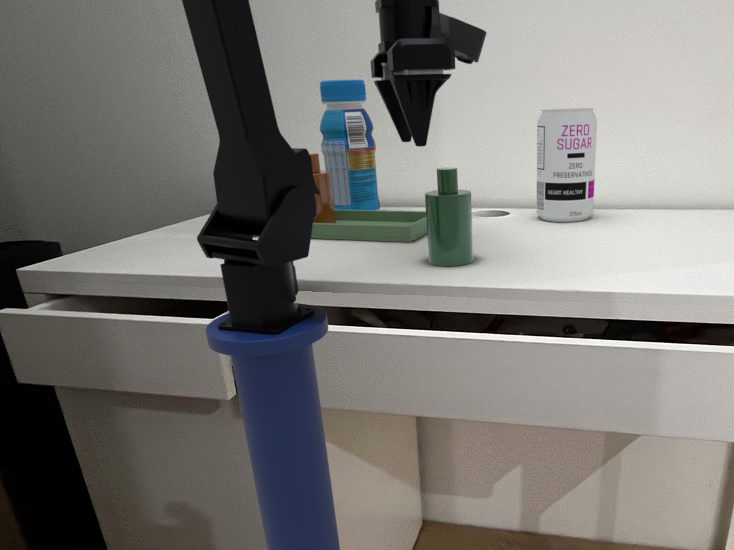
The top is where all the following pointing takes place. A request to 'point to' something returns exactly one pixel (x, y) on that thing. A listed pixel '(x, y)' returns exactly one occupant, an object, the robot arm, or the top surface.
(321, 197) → the amber bottle near
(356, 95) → the beverage bottle
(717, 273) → the top surface
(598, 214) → the top surface
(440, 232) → the green bottle
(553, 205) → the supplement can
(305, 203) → the robot arm
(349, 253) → the top surface
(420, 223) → the tray
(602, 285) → the top surface
